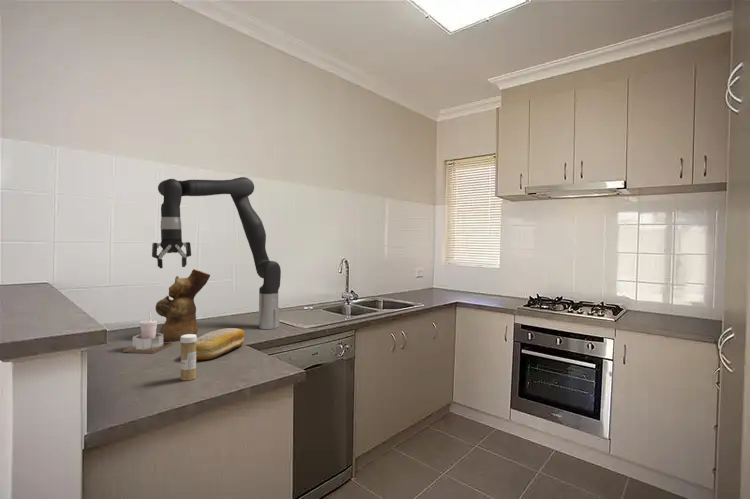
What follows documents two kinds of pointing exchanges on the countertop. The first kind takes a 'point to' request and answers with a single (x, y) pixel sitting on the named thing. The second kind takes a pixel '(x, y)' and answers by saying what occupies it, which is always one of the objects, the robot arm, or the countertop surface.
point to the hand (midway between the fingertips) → (172, 267)
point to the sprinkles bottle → (188, 356)
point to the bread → (218, 343)
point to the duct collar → (147, 344)
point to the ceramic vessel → (181, 306)
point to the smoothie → (148, 328)
